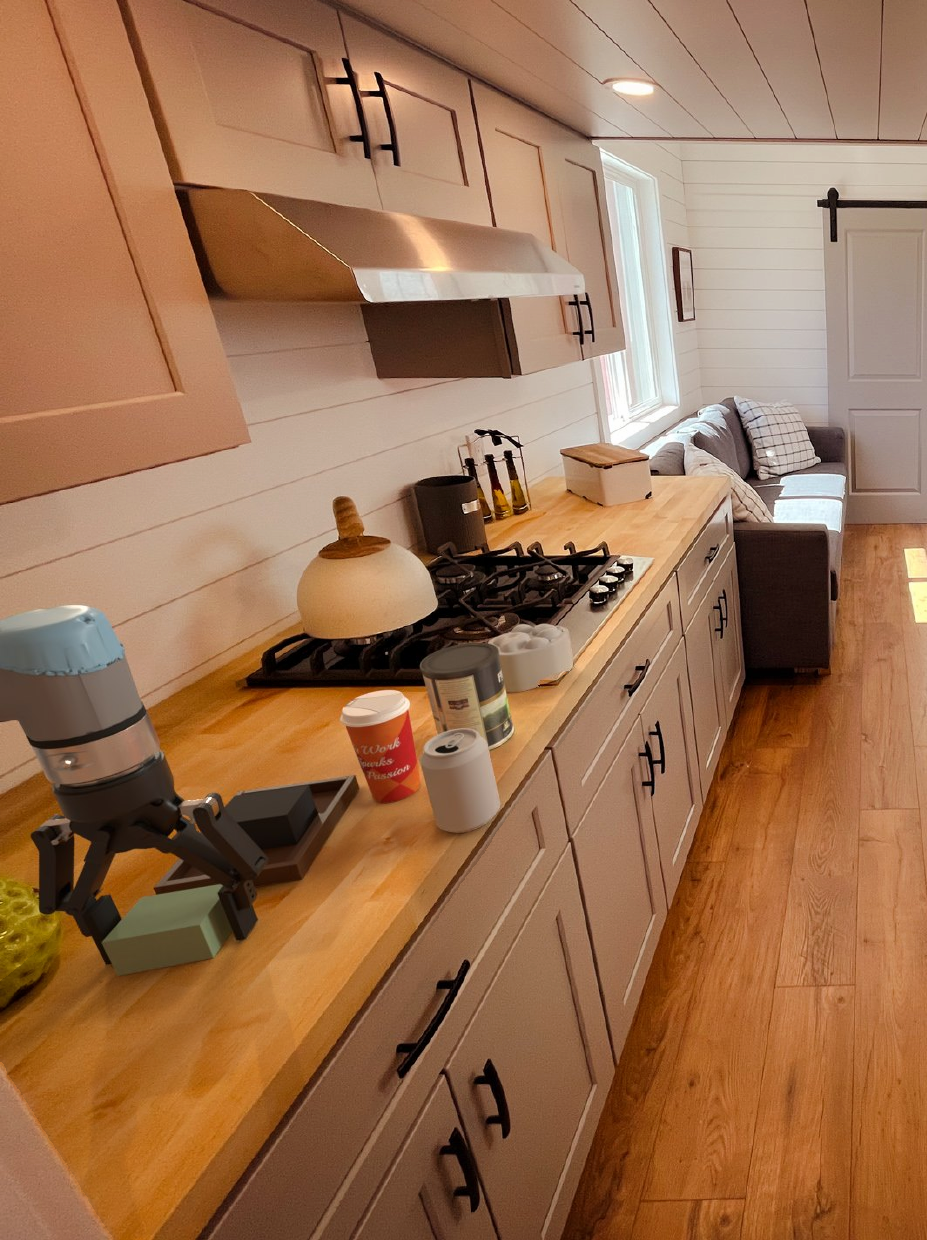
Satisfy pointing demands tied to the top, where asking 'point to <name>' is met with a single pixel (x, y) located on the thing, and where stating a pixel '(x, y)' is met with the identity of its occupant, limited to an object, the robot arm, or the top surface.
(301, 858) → the tray
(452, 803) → the can
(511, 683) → the lumpy-topped squat cylinder
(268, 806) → the black block
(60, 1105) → the top surface
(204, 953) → the pad
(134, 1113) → the top surface
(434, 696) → the coffee can
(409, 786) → the paper cup
